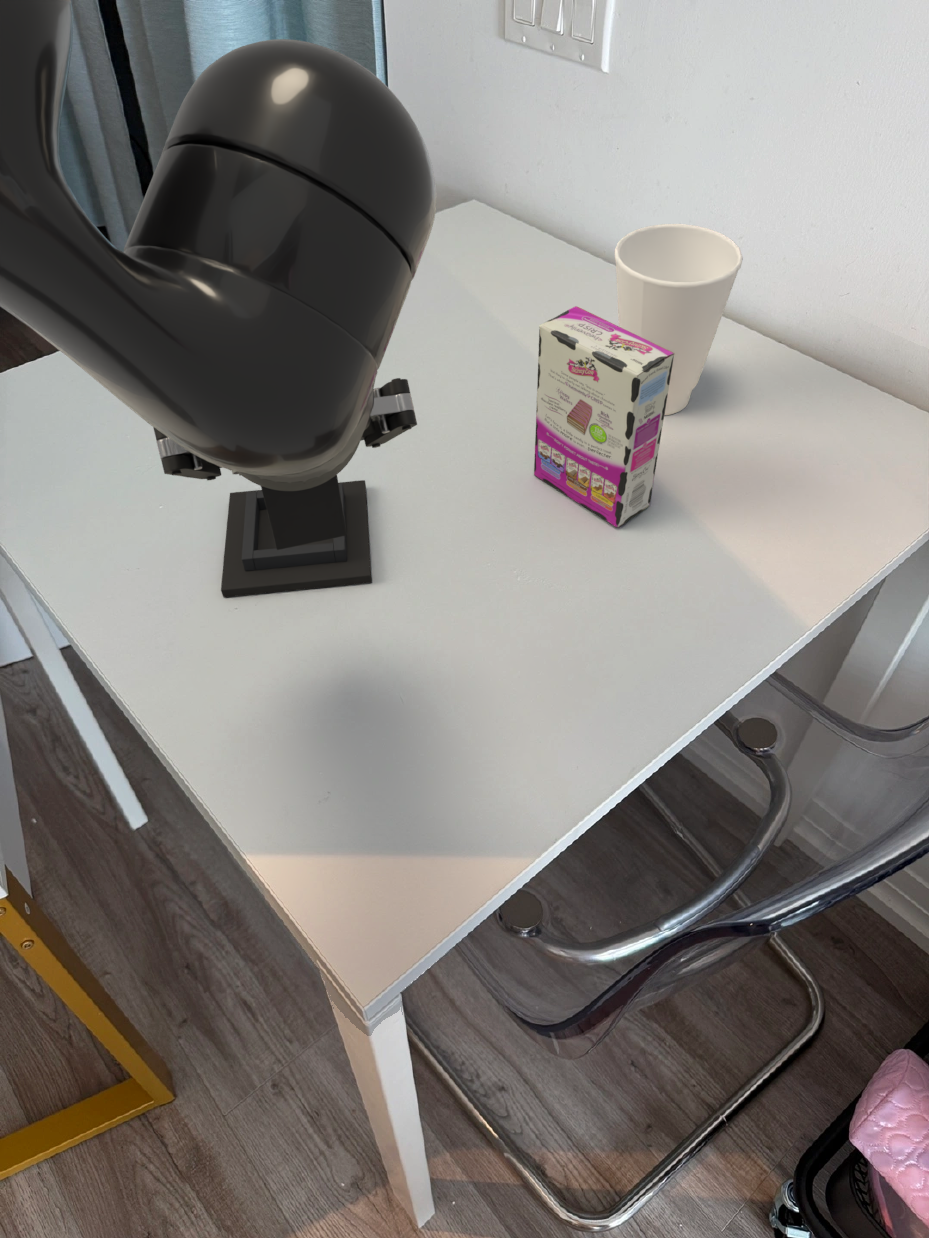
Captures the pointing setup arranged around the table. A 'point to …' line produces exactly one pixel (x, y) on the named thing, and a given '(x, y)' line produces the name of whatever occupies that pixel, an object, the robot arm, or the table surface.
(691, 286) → the cup
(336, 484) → the black block
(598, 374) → the candy bar box
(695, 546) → the table surface
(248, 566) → the base pad
